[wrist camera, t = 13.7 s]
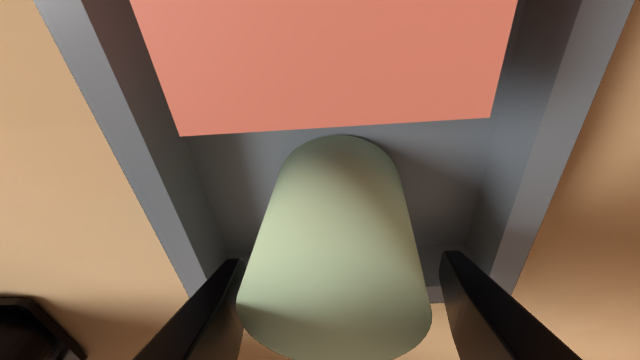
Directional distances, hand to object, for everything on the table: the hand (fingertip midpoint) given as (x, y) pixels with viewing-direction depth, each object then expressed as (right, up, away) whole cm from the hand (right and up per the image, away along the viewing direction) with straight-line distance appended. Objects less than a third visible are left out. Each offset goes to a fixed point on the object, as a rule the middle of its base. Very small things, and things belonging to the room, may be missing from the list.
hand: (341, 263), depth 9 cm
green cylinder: (0, +2, +3) cm, 3 cm away
